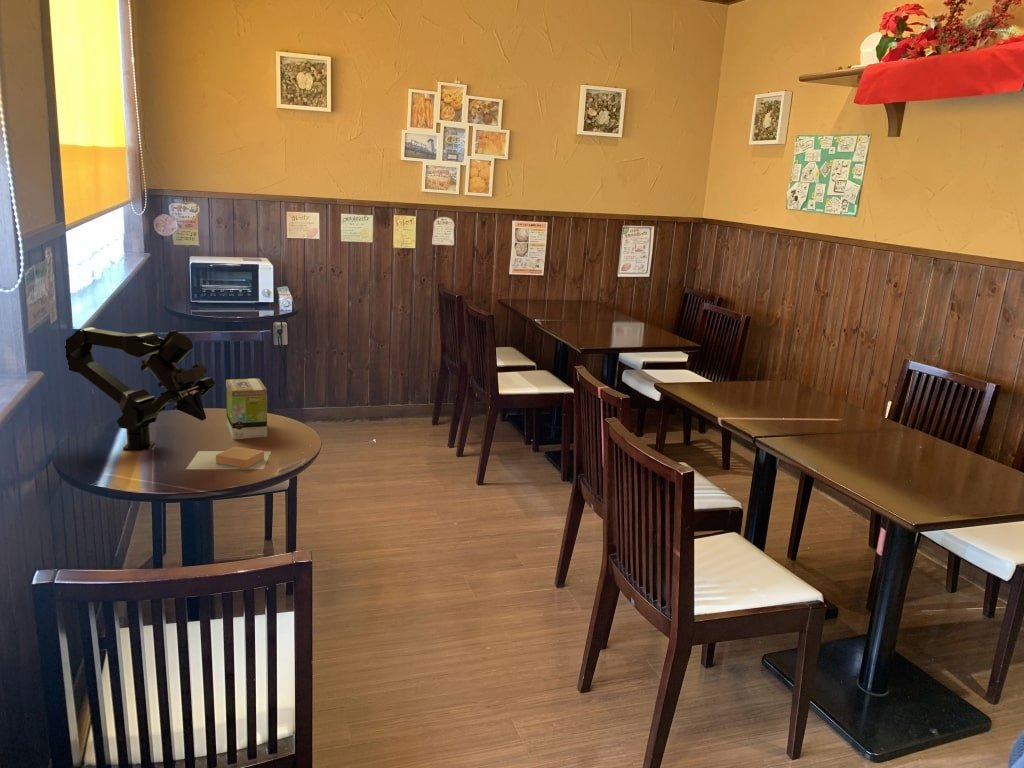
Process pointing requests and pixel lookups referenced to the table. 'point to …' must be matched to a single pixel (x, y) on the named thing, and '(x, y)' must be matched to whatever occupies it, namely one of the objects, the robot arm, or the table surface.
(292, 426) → the table surface
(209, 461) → the mat
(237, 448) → the tile
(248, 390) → the tea box
